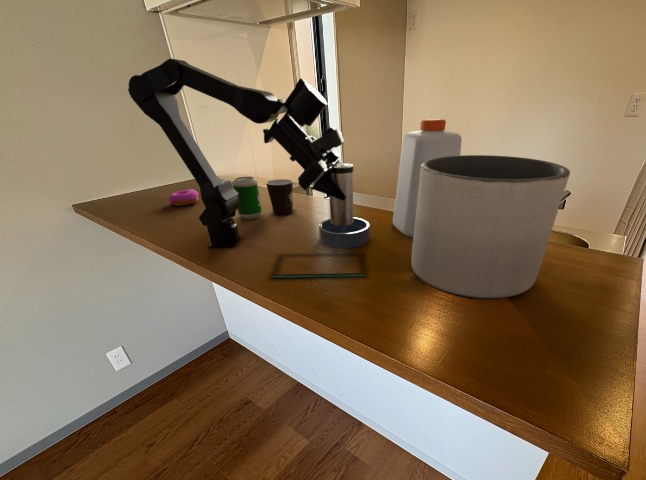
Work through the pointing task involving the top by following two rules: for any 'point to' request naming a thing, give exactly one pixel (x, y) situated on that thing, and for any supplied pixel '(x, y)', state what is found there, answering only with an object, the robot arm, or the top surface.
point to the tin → (344, 178)
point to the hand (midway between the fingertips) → (347, 195)
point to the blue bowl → (344, 234)
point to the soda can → (248, 197)
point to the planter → (484, 223)
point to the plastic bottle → (419, 167)
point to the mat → (318, 276)
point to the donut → (184, 197)
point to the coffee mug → (281, 195)
